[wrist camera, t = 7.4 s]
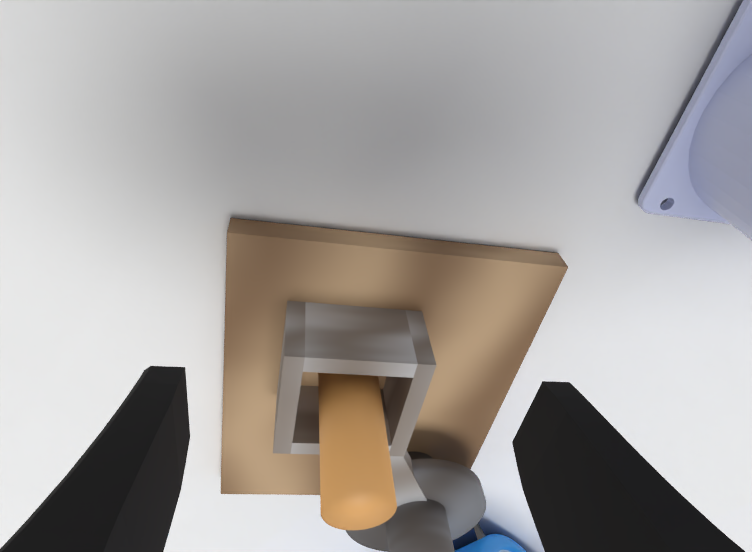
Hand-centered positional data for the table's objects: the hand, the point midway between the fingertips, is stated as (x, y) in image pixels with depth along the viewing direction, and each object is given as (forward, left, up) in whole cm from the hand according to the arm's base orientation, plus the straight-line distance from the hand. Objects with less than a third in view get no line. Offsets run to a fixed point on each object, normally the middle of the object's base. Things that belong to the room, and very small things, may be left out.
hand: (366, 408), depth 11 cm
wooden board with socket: (-3, +10, -10) cm, 14 cm away
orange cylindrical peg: (-1, +7, -9) cm, 11 cm away
